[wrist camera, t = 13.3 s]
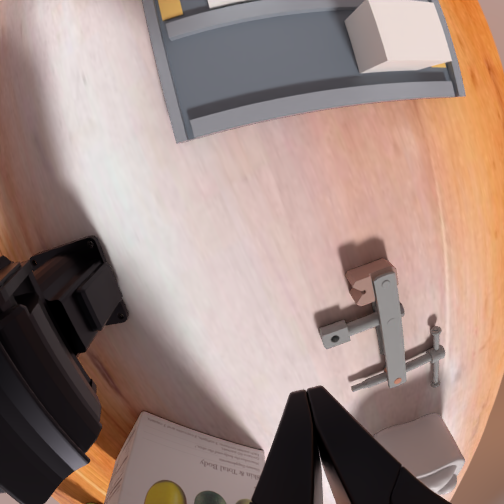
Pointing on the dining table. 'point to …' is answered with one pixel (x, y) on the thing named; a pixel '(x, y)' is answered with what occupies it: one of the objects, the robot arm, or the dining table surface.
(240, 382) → the dining table surface
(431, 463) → the lumpy-topped squat cylinder
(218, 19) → the grey tray
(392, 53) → the white block
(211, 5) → the beige block
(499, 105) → the dining table surface
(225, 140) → the dining table surface
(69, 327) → the robot arm
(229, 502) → the supplement box
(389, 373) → the clamp
